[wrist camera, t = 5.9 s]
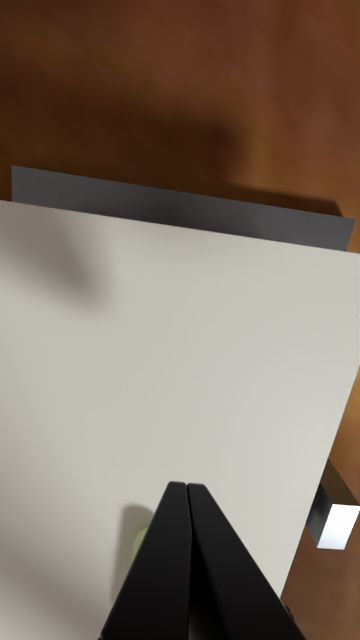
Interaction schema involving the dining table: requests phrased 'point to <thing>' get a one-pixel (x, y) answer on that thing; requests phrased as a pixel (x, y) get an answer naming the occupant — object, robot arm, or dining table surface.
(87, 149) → the dining table surface
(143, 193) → the stand
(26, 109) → the dining table surface
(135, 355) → the leveling deck
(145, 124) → the dining table surface
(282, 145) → the dining table surface
